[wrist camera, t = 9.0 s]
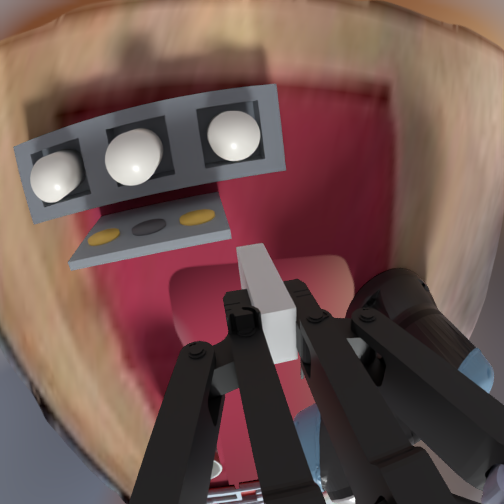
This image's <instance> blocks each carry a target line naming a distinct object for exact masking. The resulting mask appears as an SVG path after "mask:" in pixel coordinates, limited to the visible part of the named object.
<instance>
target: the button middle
mask: <svg viewBox="0 0 504 504" xmlns="http://www.w3.org/2000/svg"><path fill="white" fill-rule="evenodd" d="M162 157H163V144H162V141H161V139H160V138H159V136H158V135H157V134H156V133H154V132H153V131H151V130H149V129H144V128H138V129H134V130H131V131H128V132H125V133H122V134H120V135H118V136H117V137H116V138H114V139H113V140H112V141H111V143H110V144H109V146H108V148H107V151H106V154H105V164H106V168H107V170H108V172H109V174H110V175H111V177H112V178H113V179H114V180H116V181H117V182H119V183H121V184H123V185H129V186H133V185H138V184H141V183H143V182H145V181H146V180H148V179H149V178H150V177H151V176H152V174H153V173H154V172H155V170H156V168H157V167H158V165H159V163H160V162H161V160H162Z"/></svg>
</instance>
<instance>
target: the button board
mask: <svg viewBox="0 0 504 504" xmlns="http://www.w3.org/2000/svg"><path fill="white" fill-rule="evenodd" d="M224 111H241V112H244V113H246V114H248V115H250V116H251V117H252V118H253V119H254V120H255V121H256V122H257V124H258V126H259V129H260V141H259V144H258V147H257V148H256V150H255V151H254V152H253V153H252V154H251V155H250V156H249V157H247V158H245V159H243V160H239V161H229V160H225V159H223V158H221V157H219V156H218V155H217V154H216V153H215V152H214V151H213V149H212V147H211V146H210V144H209V142H208V139H207V127H208V124H209V122H210V120H211V119H212V118H213V117H214V116H215V115H217V114H219V113H221V112H224ZM138 128H144V129H149V130H151V131H153V132H154V133H156V134H157V135H158V136H159V138H160V139H161V141H162V144H163V157H162V160H161V162H160V163H159V165H158V167H157V168H156V170H155V172H154V173H153V174H152V176H151V177H150V178H149V179H148V180H146V181H145V182H143V183H141V184H138V185H133V186H129V185H123V184H121V183H119V182H117V181H116V180H114V179H113V178H112V177H111V175H110V174H109V172H108V170H107V168H106V164H105V154H106V151H107V148H108V146H109V144H110V143H111V141H112V140H113V139H114V138H116V137H117V136H118V135H120V134H122V133H125V132H128V131H131V130H134V129H138ZM63 149H73V150H75V151H77V152H78V153H80V154H81V156H82V157H83V162H84V166H85V170H86V174H85V177H84V180H83V181H82V183H81V184H80V185H79V186H78V187H76V188H75V189H74V190H72V191H71V192H70V193H68V194H67V195H66V196H64V197H63V198H62V199H61V200H59V201H57V202H51V203H50V202H45V201H43V200H41V199H40V198H38V197H37V196H36V194H35V193H34V191H33V189H32V187H31V182H30V176H31V171H32V168H33V166H34V164H35V163H36V162H37V161H38V160H39V159H41V158H42V157H45V156H47V155H50V154H52V153H55V152H58V151H60V150H63ZM14 152H15V157H16V161H17V165H18V170H19V174H20V178H21V182H22V185H23V189H24V193H25V196H26V200H27V203H28V207H29V210H30V213H31V217H32V220H33V223H34V224H37V223H41V222H44V221H48V220H51V219H55V218H58V217H62V216H66V215H69V214H73V213H77V212H81V211H85V210H88V209H92V208H96V207H100V206H104V205H108V204H113V203H117V202H121V201H125V200H130V199H134V198H138V197H143V196H147V195H152V194H156V193H161V192H166V191H171V190H176V189H181V188H186V187H191V186H196V185H201V184H206V183H212V182H217V181H223V180H229V179H234V178H240V177H246V176H253V175H259V174H265V173H272V172H279V171H286V165H285V156H284V146H283V137H282V128H281V120H280V111H279V103H278V95H277V87H276V84H268V85H257V86H248V87H240V88H232V89H224V90H217V91H211V92H205V93H199V94H193V95H187V96H182V97H177V98H172V99H167V100H162V101H157V102H153V103H148V104H144V105H140V106H136V107H132V108H128V109H124V110H120V111H116V112H113V113H109V114H106V115H102V116H99V117H95V118H92V119H89V120H86V121H82V122H79V123H76V124H73V125H70V126H67V127H64V128H61V129H58V130H56V131H53V132H50V133H47V134H45V135H42V136H39V137H37V138H34V139H32V140H29V141H27V142H24V143H22V144H19V145H17V146H14Z"/></svg>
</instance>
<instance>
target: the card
mask: <svg viewBox="0 0 504 504" xmlns="http://www.w3.org/2000/svg"><path fill="white" fill-rule="evenodd" d="M226 239H231V232H230V228H229V225H228V221H227V218H226V215H225V212H224V209H223V206H222V203H221V199H220V196H219V193H218V192H214V193H208V194H203V195H198V196H193V197H188V198H182V199H178V200H173V201H168V202H163V203H158V204H153V205H149V206H144V207H140V208H135V209H131V210H126V211H122V212H118V213H113V214H109V215H105V216H101V217H100V219H99V220H98V221H97V223H96V224H95V225H94V227H93V228H92V229H91V231H90V232H89V233H88V235H87V236H86V237H85V239H84V240H83V242H82V243H81V244H80V246H79V247H78V249H77V250H76V251H75V253H74V254H73V256H72V257H71V258H70V260H69V261H68V264H69V267H70V269H71V271H72V270H76V269H81V268H86V267H91V266H96V265H100V264H105V263H110V262H115V261H120V260H125V259H130V258H135V257H140V256H144V255H149V254H154V253H159V252H164V251H170V250H175V249H180V248H185V247H190V246H195V245H200V244H205V243H211V242H216V241H221V240H226Z"/></svg>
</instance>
